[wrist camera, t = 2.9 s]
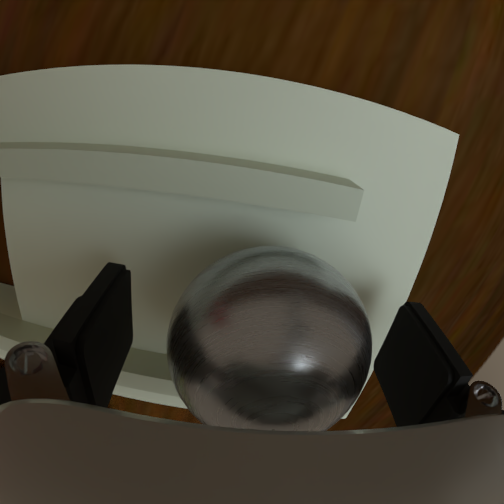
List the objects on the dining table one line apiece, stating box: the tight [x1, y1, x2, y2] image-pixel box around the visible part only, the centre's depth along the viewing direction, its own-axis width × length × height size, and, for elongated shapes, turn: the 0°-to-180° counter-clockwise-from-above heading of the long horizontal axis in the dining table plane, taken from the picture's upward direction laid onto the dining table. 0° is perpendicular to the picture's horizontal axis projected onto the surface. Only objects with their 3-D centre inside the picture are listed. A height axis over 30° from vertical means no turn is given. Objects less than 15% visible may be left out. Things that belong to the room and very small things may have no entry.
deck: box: [0, 65, 459, 419], centre depth 11 cm, size 15×29×5 cm, turn 80°
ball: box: [166, 246, 372, 431], centre depth 9 cm, size 6×6×6 cm
